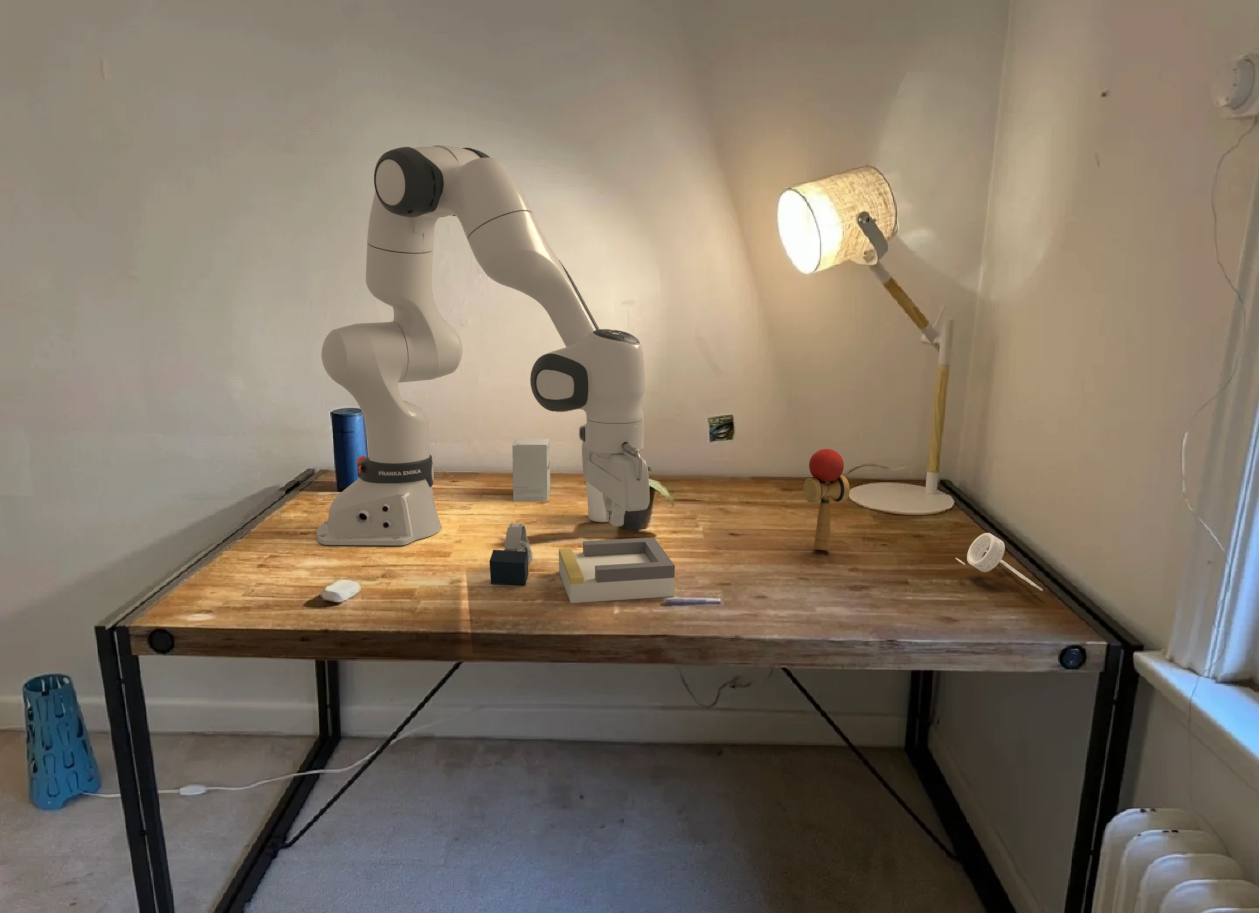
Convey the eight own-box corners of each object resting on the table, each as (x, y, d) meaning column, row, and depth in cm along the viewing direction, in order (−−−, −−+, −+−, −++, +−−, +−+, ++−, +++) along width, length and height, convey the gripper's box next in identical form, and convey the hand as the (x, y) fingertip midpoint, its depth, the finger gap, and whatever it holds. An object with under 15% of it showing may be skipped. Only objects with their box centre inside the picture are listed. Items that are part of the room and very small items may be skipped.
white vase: (618, 524, 177) (618, 448, 173) (583, 524, 177) (583, 448, 173) (619, 514, 183) (620, 441, 180) (585, 514, 183) (585, 440, 180)
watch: (525, 595, 145) (536, 555, 155) (524, 553, 141) (535, 515, 151) (490, 593, 146) (503, 553, 155) (488, 551, 142) (501, 513, 151)
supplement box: (548, 504, 190) (547, 444, 187) (512, 503, 190) (511, 444, 187) (551, 494, 197) (550, 437, 194) (516, 494, 197) (515, 437, 195)
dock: (570, 603, 137) (570, 571, 136) (558, 571, 151) (558, 542, 150) (674, 596, 141) (674, 565, 139) (653, 565, 154) (654, 537, 153)
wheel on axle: (937, 543, 160) (959, 512, 159) (982, 571, 161) (1004, 541, 160) (981, 579, 142) (1006, 544, 141) (1031, 610, 144) (1056, 576, 143)
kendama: (839, 541, 168) (845, 445, 164) (848, 552, 161) (855, 453, 157) (797, 541, 167) (802, 445, 163) (805, 553, 161) (810, 453, 157)
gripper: (660, 449, 132) (659, 540, 135) (611, 424, 151) (611, 504, 154) (620, 452, 130) (619, 545, 133) (575, 426, 148) (575, 508, 151)
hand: (614, 523), depth 143 cm, fingers closed
